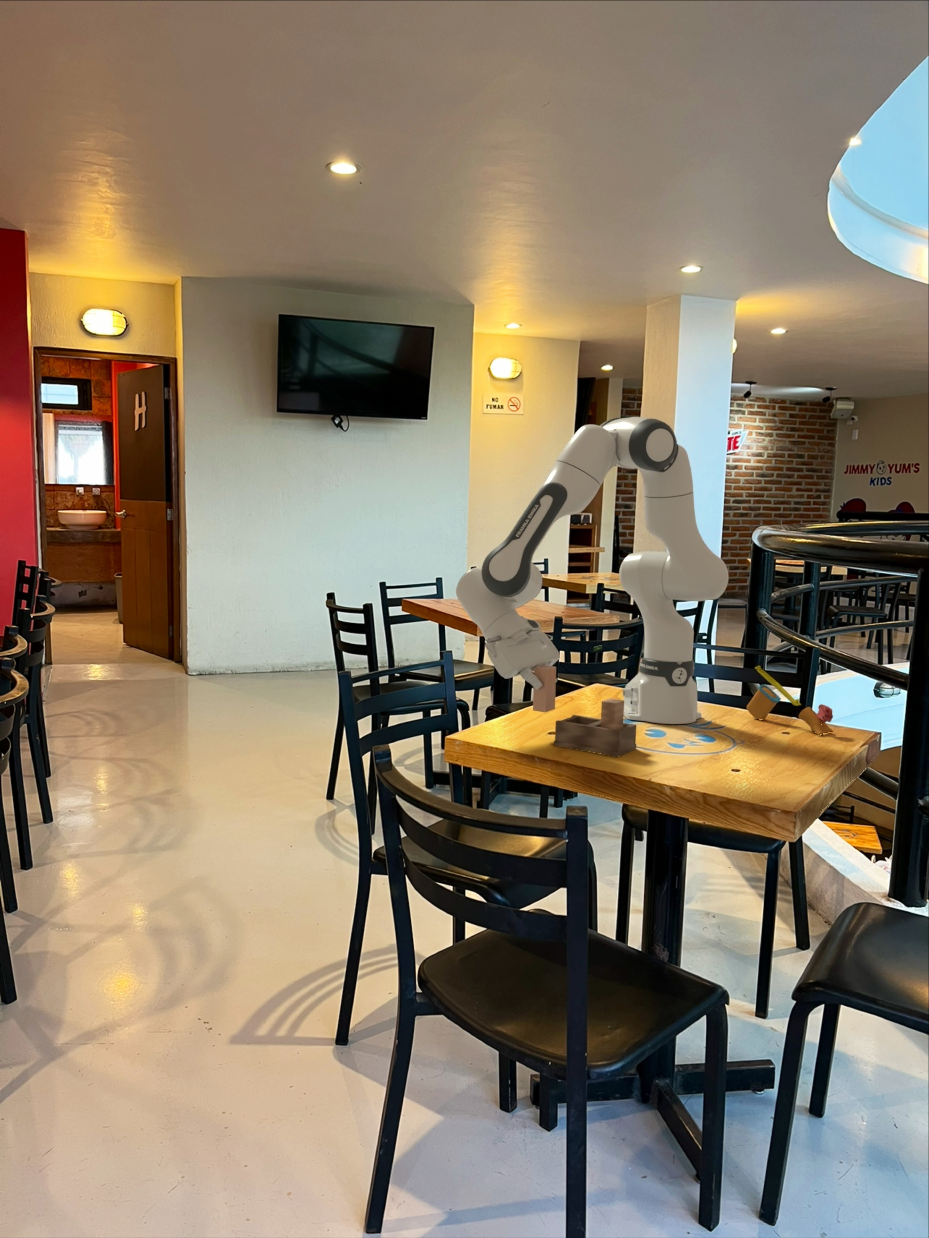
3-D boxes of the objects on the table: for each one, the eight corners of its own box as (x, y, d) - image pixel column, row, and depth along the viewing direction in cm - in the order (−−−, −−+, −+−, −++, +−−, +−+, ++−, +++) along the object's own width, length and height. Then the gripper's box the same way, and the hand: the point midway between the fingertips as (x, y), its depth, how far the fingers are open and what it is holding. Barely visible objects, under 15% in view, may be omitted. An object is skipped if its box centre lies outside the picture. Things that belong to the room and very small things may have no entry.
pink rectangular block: (532, 710, 189) (534, 667, 188) (542, 707, 192) (543, 665, 191) (545, 712, 187) (546, 669, 186) (554, 709, 191) (556, 666, 190)
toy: (743, 697, 222) (773, 650, 213) (809, 763, 208) (845, 715, 200) (729, 699, 219) (759, 652, 210) (795, 767, 205) (830, 719, 197)
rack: (553, 745, 183) (555, 697, 182) (574, 737, 191) (576, 691, 190) (617, 757, 176) (619, 706, 175) (636, 748, 183) (638, 699, 182)
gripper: (490, 630, 183) (531, 683, 179) (541, 620, 200) (579, 669, 196) (472, 649, 186) (511, 703, 182) (523, 638, 203) (560, 687, 199)
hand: (547, 685), depth 189 cm, fingers closed on pink rectangular block, 4 cm apart
